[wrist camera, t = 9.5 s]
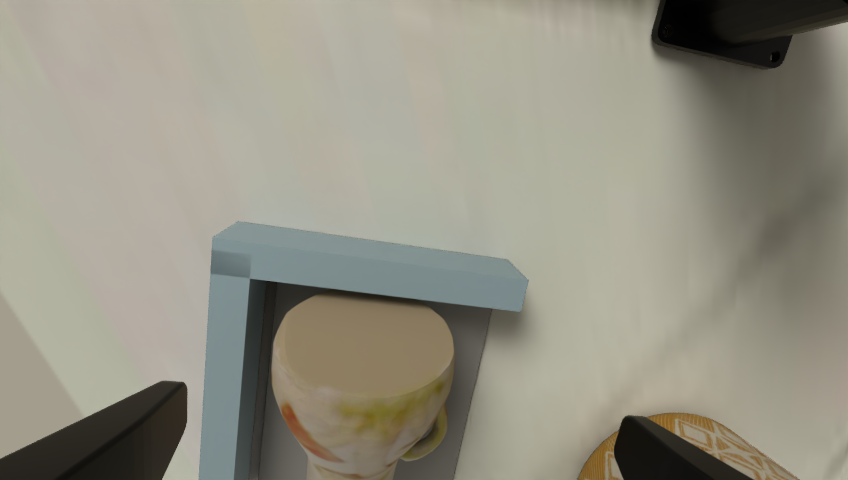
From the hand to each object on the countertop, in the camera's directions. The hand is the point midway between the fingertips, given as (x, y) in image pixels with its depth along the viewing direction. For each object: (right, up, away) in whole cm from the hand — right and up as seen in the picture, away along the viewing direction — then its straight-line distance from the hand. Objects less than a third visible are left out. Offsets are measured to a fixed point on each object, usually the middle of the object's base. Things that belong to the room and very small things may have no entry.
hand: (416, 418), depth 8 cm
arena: (-3, -3, +13) cm, 14 cm away
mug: (-2, -5, +14) cm, 15 cm away
